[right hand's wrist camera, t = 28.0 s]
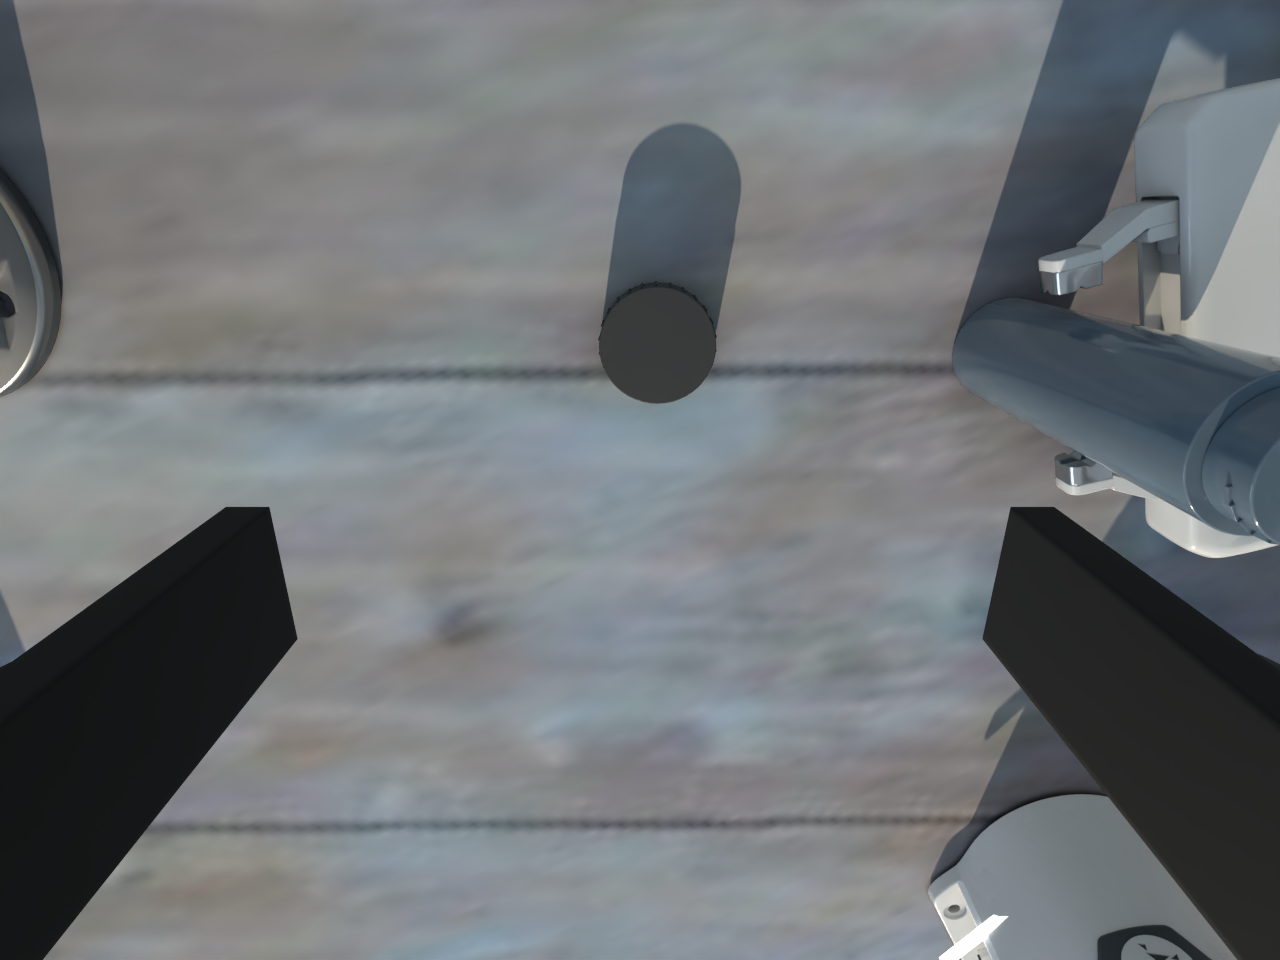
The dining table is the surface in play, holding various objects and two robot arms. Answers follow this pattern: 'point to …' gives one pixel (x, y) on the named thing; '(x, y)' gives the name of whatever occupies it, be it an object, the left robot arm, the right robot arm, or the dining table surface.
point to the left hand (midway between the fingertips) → (1053, 382)
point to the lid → (657, 343)
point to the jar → (1138, 405)
